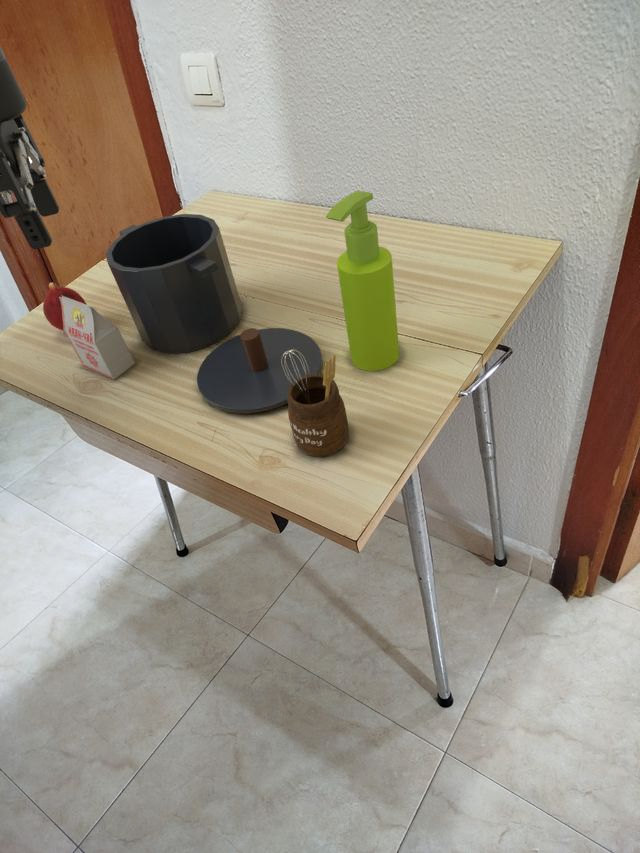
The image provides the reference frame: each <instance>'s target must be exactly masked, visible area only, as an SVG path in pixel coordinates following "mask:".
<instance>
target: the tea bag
mask: <svg viewBox="0 0 640 853" xmlns="http://www.w3.org/2000/svg"><path fill="white" fill-rule="evenodd" d="M61 296H62V295H61ZM59 299H60V302H61V308H62V319H63V330H64V331H63V330H62V331H63V332H64V334H65V336H66V338H67V339H68V341H69V343H70V344H71V347H72V348H73V350H74V352H75V354H76V355H77V357H78V359H79V361H80V363H81V364H82V366H83V367H85V368H87V369H89V370H92V371H94V372H96V373H98V374H101V375H103V376H105V377H107V378H109V379H111V380H113V381H114V380H115V379H117V378H118V377H119V376H121V375H122V374H123V373H125V372H126V371H127V370H128V369H130V368H131V367H132V366H133V365H135V364H136V363H135V361H134V359H133V356H132V354H131V352H130V350H129V348H128V346H127V343H126V342H125V340H124V338H123V336H122V334H121V331H120V329H119V327H118V326H117V325H116V324H114V323H112V322H111V321H109V320H108V319H107V318H106V317H104V316H103V315H102V314H101V313H99V312H98V311H97V310H96V308H95V307H94V306H92V305H89V304H87V303H86V304H83V303H81V302H78V301H75V300H72V299H70V298H67V297H64V296H62V297H59Z"/></svg>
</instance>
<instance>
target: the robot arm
mask: <svg viewBox="0 0 640 853" xmlns="http://www.w3.org/2000/svg"><path fill="white" fill-rule="evenodd" d="M27 106H28V103H27V100H26V98H25V96H24V94H23V92H22V89H21V87H20V85H19V83H18V81H17V79H16V77H15V74H14V73H13V70H12V68H11V66H10V64H9V62H8V59H7V57H6V55H5V53H4V51H3V49H2V47H1V45H0V215H1V216H2V217H3V218H4V219H9V218H14V219H15V221H16V223H17V225H18V227H19V229H20V230H21V232H22V234H23V236H24V238H25V241H26V242H27V243H28V246H29V247H30V248H31V249H32V250H40V249H43V248H44V249H45V248H47V247H50V246H51V245H52V243H53V238H52V236H51V234H50V232H49V230H48V228H47V226H46V225H45V223H44V221H43V219H42V217H44V218H45V217H49V216H54V215H57V214H59V211H60V206H59V204H58V202H57V200H56V198H55V196H54V193H53V191H52V190H51V187H50V186H49V183H48V181H47V180H46V178H47V173H46V170H45V169H44V167H46V164H45V163H46V161H45V158H43V156H42V154H41V152H40V150H39V148H38V146H37V143H36V141H35V140H34V138H33V136H32V134H31V132H30V130H29V128H28V125H27V123H26V122H25V120H24V119H25V118H24V116H23V113H25V111H26V110H27ZM13 194H14V196H15V199H16V201H14V200H13V197H12V196H13Z"/></svg>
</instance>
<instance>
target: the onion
mask: <svg viewBox="0 0 640 853" xmlns="http://www.w3.org/2000/svg"><path fill="white" fill-rule="evenodd" d="M48 287H49V290H48V292H47V294H46V295H45V297H44V300H43V304H42V310H43V315H44V317H45V319H46V320H47V321H48V323H49V324H50V325H51V326H53V327H54V328H55V329H58V330H60V331H63V332H64V330H63V319H62V308H61V302H60V299H59V297H62V296H64V297H67V298H70V299H72V300H75V301H78V302H81V303H83V304H86V305H87V302H86V300H85V299H84V298H83V296H82V295H81V294H79V293H78V292H77V291H75V290H74V289H73V288H69V287H66V286H58V285H57V284H56V283H55V282H49V284H48ZM61 295H62V296H61Z"/></svg>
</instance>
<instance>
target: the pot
mask: <svg viewBox="0 0 640 853" xmlns="http://www.w3.org/2000/svg"><path fill="white" fill-rule="evenodd" d="M118 233H119V237H117V238H116V239H115V240H113V241H112V242H111V244H110V245H109V247H108V249H107V250H106V253H105V258H106V262H107V265H108V267H109V270H110V271H111V274H112V276H113V279H114V281H115V283H116V285H117V287H118V289H119V291H120V293H121V296H122V298H123V300H124V302H125V306H126V307H127V309H128V312H129V314H130V316H131V318H132V320H133V323H134V325H135V327H136V329H137V331H138V333H139V336H140V338H141V340H142V342H143V343H144V344H145V345H146V346H147V347H148V348H150V349H151V350H152V351H155V352H159V353H163V354H164V353H165V354H185V353H191V352H196V351H199V350H202V349H204V348H208V347H210V346H212V345H214V344H216V343H218V342H219V341H221V340H223V339H224V338H226V337H227V336H228V335H230V334H231V333H232V332H233V331H234V330H235V328H237V327H238V325H239V323H240V322H241V319H242V317H243V309H242V308H243V304H242V301H241V298H240V295H239V291H238V288H237V285H236V281H235V278H234V274H233V270H232V266H231V264H230V260H229V257H228V254H227V251H226V247H225V243H224V240H223V236H222V233H221V229H220V227H219V226H218V224H217V222H216V221H215V219H213V218H211V217H208V216H205V215H203V214H195V213H180V214H174V215H173V214H172V215H167V216H161V217H159V218H156V219H152V220H149V221H145V222H143V223H141V224H139V225H135V224H131V225H130V226H128V227H126V228H124V229H121V230H119V232H118Z"/></svg>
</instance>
